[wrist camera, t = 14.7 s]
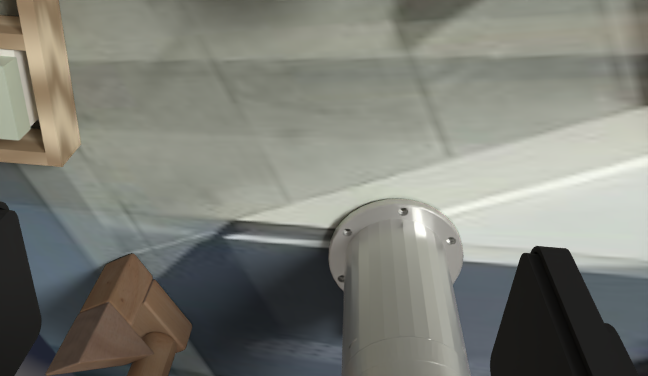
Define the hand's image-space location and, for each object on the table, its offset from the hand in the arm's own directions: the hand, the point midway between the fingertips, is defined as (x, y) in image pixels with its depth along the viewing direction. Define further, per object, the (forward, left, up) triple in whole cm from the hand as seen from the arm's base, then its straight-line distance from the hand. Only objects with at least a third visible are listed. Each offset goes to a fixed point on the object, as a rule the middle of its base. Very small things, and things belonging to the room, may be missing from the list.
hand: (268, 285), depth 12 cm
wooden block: (-36, +16, -39) cm, 55 cm away
